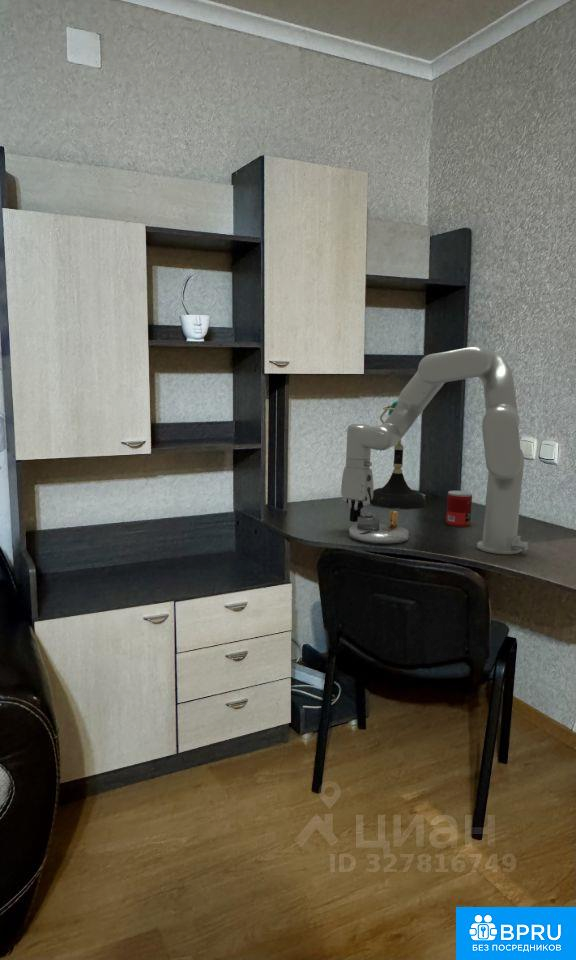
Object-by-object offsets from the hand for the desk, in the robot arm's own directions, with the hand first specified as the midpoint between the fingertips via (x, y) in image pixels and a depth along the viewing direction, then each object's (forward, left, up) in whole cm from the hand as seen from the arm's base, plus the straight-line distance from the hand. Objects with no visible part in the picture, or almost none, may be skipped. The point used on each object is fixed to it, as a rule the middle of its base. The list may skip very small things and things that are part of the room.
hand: (354, 521), depth 220 cm
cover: (-6, 0, -1) cm, 6 cm away
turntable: (-10, 0, -4) cm, 10 cm away
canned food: (-14, -37, -4) cm, 40 cm away
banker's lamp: (+22, -49, -4) cm, 54 cm away
